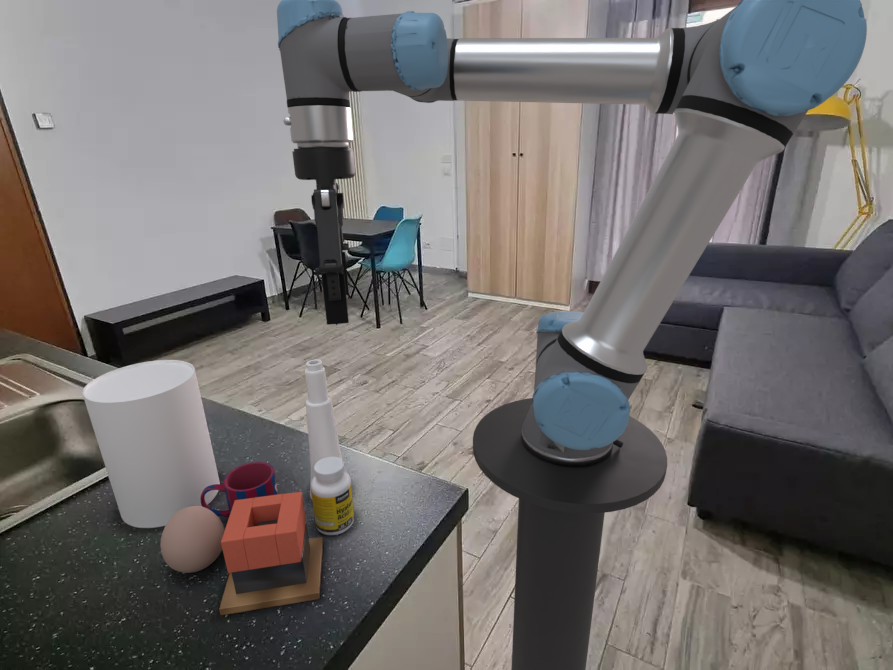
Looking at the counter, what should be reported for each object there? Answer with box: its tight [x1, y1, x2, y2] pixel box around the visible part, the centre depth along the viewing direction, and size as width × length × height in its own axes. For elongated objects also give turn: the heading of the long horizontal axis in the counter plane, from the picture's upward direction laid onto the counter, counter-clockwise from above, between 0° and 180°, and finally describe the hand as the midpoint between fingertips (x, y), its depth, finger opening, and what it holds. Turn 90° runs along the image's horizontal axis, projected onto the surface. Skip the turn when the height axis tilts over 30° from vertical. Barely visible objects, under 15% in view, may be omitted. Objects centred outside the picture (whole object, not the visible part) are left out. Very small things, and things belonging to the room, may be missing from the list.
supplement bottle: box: [310, 457, 355, 536], centre depth 67 cm, size 5×5×10 cm
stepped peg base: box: [218, 520, 324, 616], centre depth 59 cm, size 11×9×8 cm
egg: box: [159, 506, 225, 574], centre depth 61 cm, size 7×7×8 cm
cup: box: [200, 461, 279, 518], centre depth 69 cm, size 7×10×7 cm
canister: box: [81, 359, 221, 529], centre depth 71 cm, size 14×14×20 cm
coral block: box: [221, 491, 307, 574], centre depth 58 cm, size 8×7×4 cm
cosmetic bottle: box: [304, 358, 343, 500], centre depth 71 cm, size 6×6×22 cm
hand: (339, 307), depth 68 cm, fingers open, 13 cm apart
